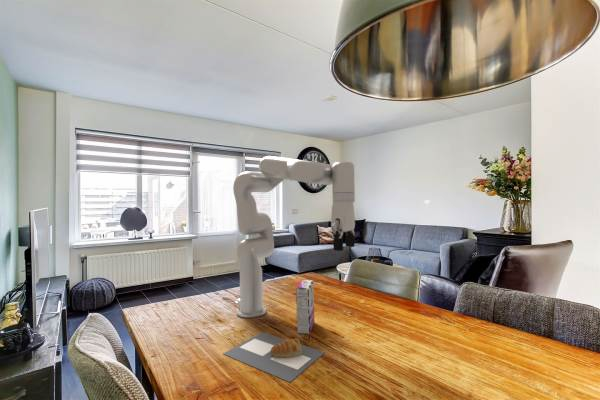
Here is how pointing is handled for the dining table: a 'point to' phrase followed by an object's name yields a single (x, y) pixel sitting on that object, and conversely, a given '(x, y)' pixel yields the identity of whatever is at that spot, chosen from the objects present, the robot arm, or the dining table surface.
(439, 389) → the dining table surface
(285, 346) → the pastry
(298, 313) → the candy bar box
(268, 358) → the label mat
